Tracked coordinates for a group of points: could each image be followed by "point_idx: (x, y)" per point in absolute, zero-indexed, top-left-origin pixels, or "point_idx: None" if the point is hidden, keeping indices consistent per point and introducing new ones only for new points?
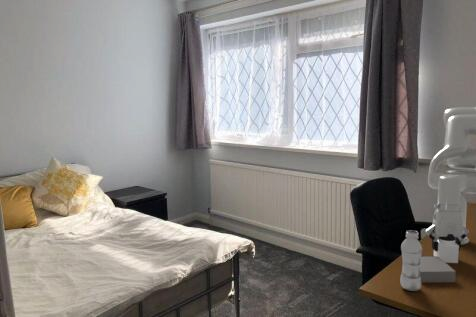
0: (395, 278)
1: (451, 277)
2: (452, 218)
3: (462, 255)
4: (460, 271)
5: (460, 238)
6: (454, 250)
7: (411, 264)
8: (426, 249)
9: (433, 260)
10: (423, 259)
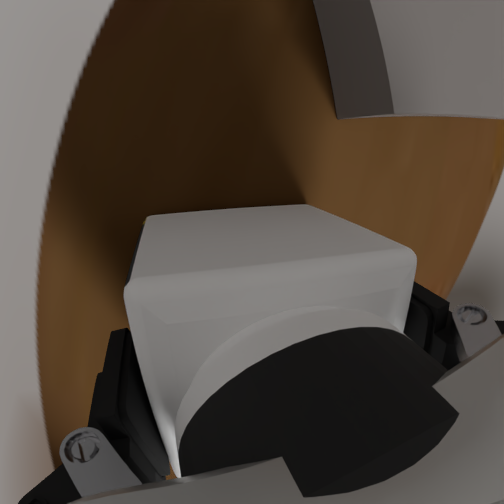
0: None
1: None
2: None
3: (92, 388)
4: (180, 37)
5: (89, 468)
6: (195, 247)
7: None
8: None
9: (436, 29)
10: (481, 63)
